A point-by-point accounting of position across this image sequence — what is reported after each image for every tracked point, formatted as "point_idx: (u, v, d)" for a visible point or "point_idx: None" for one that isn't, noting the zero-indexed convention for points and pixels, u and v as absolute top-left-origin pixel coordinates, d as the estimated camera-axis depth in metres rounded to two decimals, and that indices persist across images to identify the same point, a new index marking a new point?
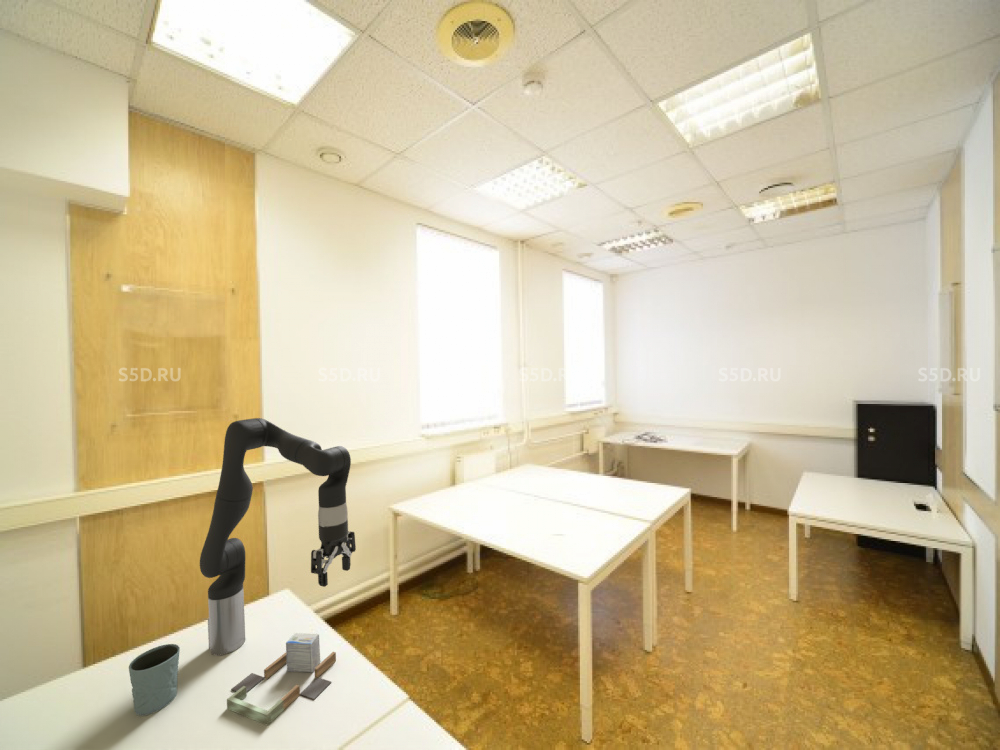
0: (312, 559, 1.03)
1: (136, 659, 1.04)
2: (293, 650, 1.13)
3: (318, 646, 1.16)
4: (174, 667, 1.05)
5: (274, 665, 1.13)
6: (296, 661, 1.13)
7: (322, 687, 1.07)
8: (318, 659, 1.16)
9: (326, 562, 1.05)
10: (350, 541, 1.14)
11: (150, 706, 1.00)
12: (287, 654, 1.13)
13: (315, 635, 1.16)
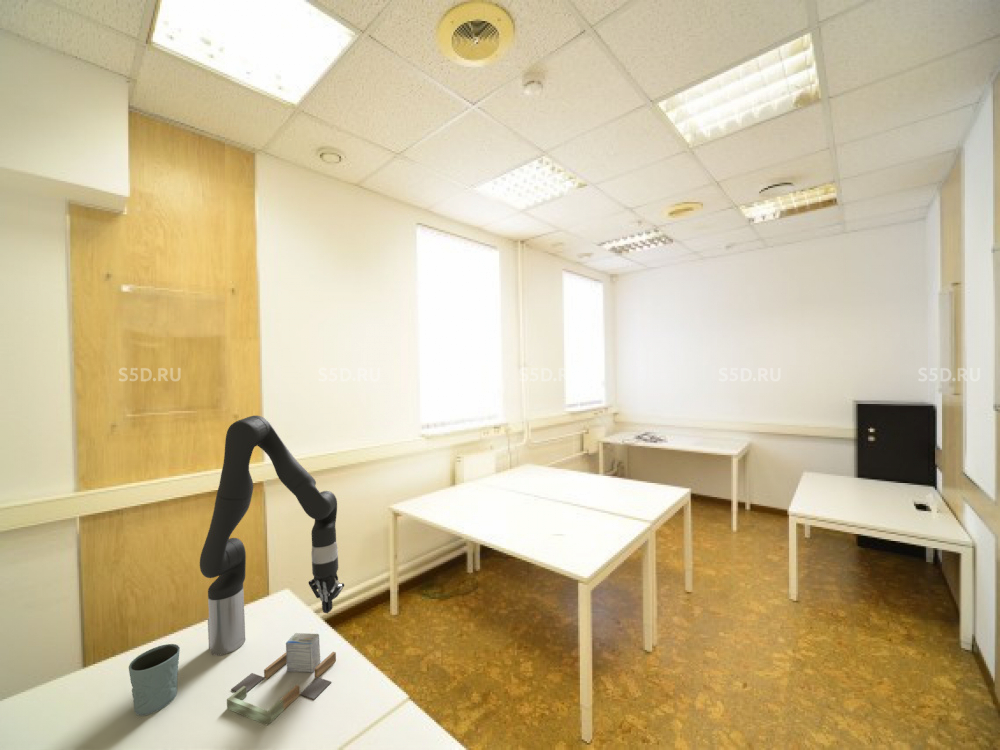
0: (337, 593, 1.21)
1: (136, 659, 1.04)
2: (293, 650, 1.13)
3: (318, 646, 1.16)
4: (174, 667, 1.05)
5: (274, 665, 1.13)
6: (296, 661, 1.13)
7: (322, 687, 1.07)
8: (318, 659, 1.16)
9: (333, 590, 1.24)
10: None
11: (150, 706, 1.00)
12: (287, 654, 1.13)
13: (315, 635, 1.16)
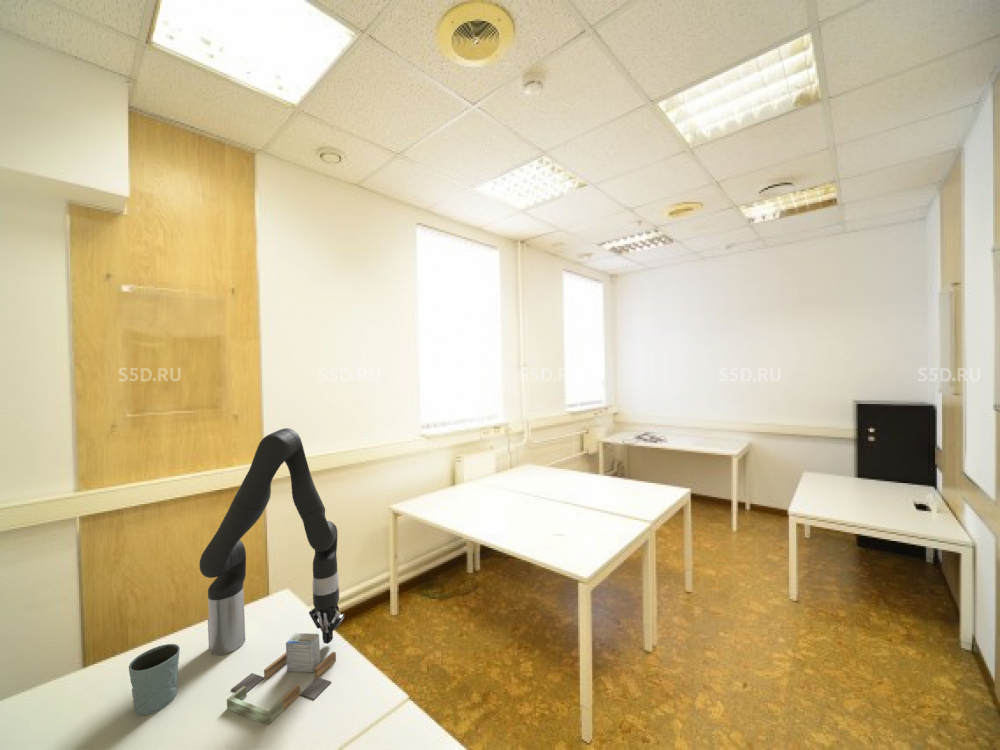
0: (337, 624, 1.21)
1: (136, 659, 1.04)
2: (293, 650, 1.13)
3: (318, 646, 1.16)
4: (174, 667, 1.05)
5: (274, 665, 1.13)
6: (296, 661, 1.13)
7: (322, 687, 1.07)
8: (318, 659, 1.16)
9: (333, 621, 1.24)
10: None
11: (150, 706, 1.00)
12: (287, 654, 1.13)
13: (315, 635, 1.16)
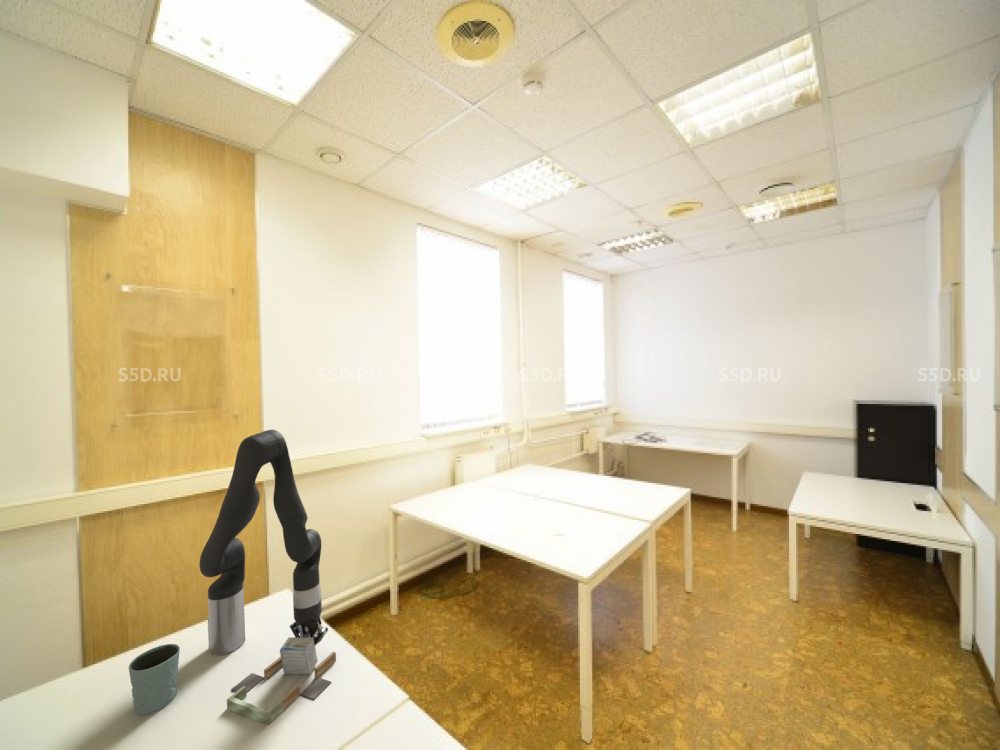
0: (320, 638, 1.15)
1: (136, 659, 1.04)
2: (288, 656, 1.11)
3: (314, 649, 1.14)
4: (174, 667, 1.05)
5: (274, 665, 1.13)
6: (292, 666, 1.11)
7: (322, 687, 1.07)
8: (315, 660, 1.15)
9: (316, 634, 1.17)
10: None
11: (150, 706, 1.00)
12: (282, 660, 1.11)
13: (309, 639, 1.13)
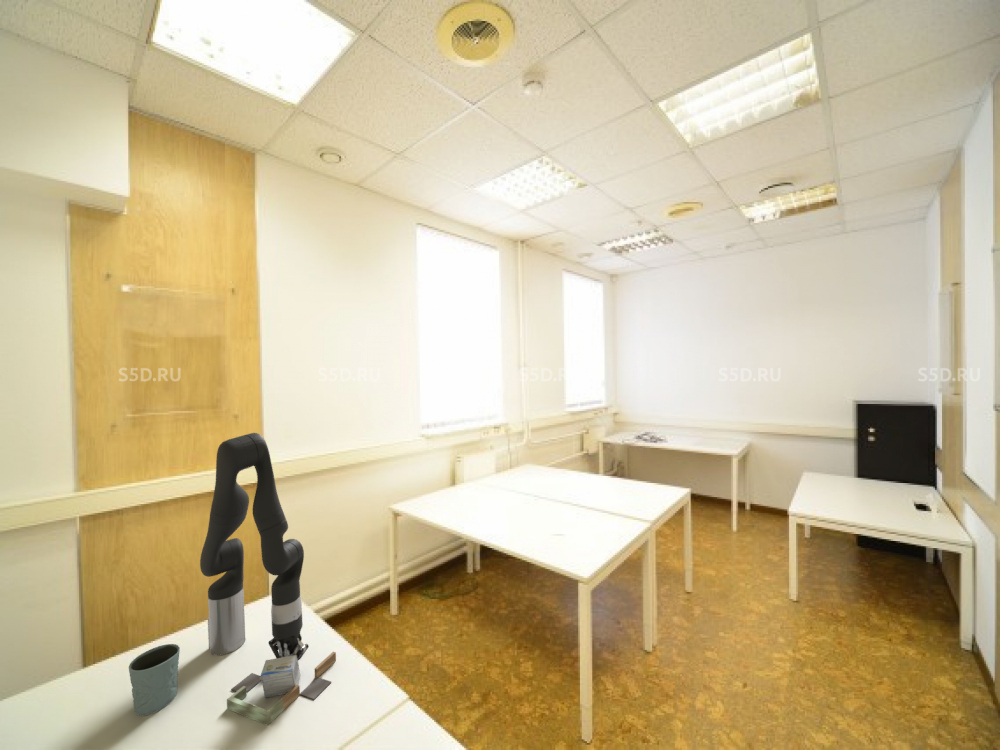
0: (300, 655, 1.08)
1: (136, 659, 1.04)
2: (271, 679, 1.02)
3: (297, 665, 1.07)
4: (174, 667, 1.05)
5: None
6: (275, 688, 1.04)
7: (322, 687, 1.07)
8: (299, 675, 1.08)
9: (296, 651, 1.11)
10: None
11: (150, 706, 1.00)
12: (263, 685, 1.02)
13: (293, 657, 1.06)
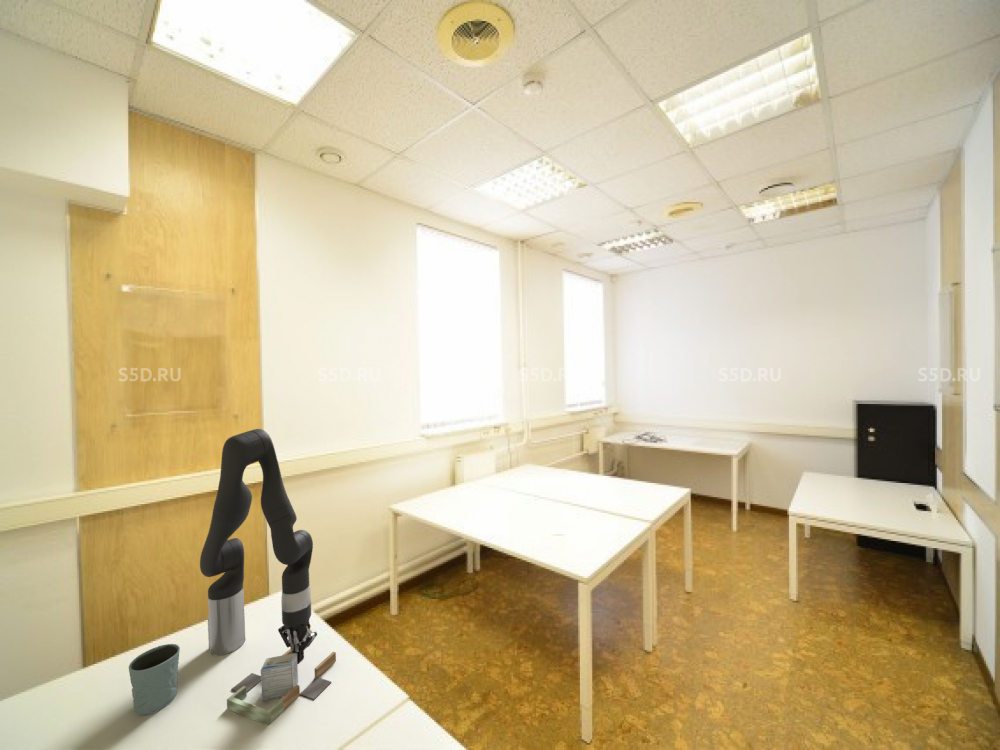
0: (308, 643, 1.11)
1: (136, 659, 1.04)
2: (271, 675, 1.04)
3: (297, 666, 1.08)
4: (174, 667, 1.05)
5: None
6: (273, 687, 1.04)
7: (322, 687, 1.07)
8: (297, 680, 1.08)
9: (304, 639, 1.14)
10: None
11: (150, 706, 1.00)
12: (262, 682, 1.03)
13: (293, 655, 1.08)
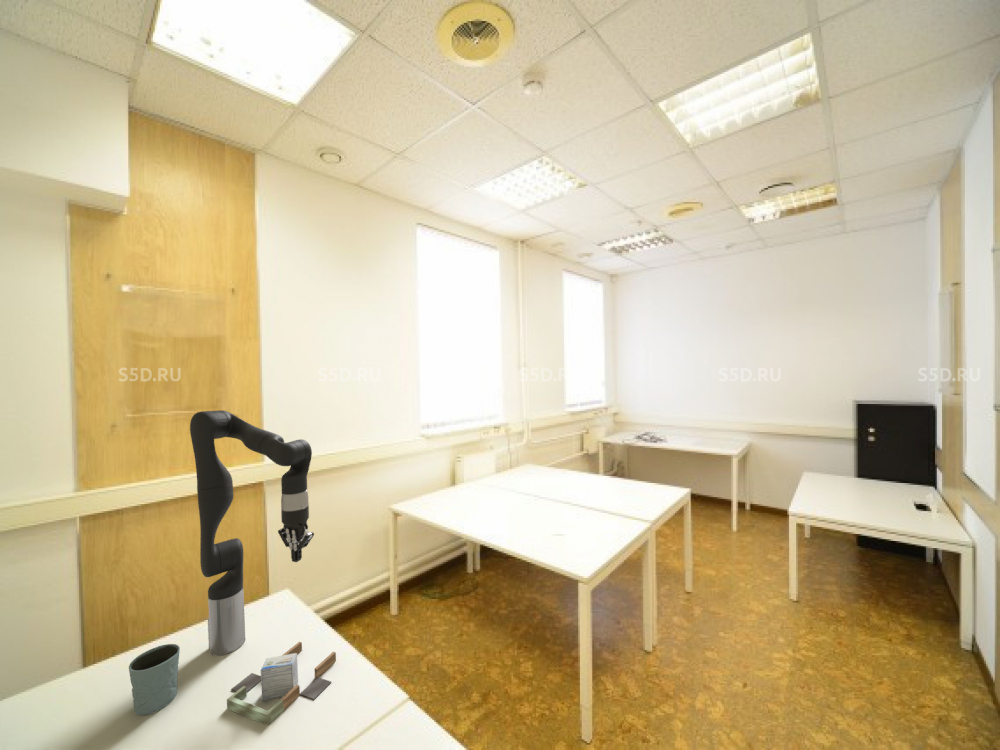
0: (306, 541, 1.19)
1: (136, 659, 1.04)
2: (271, 675, 1.04)
3: (297, 666, 1.08)
4: (174, 667, 1.05)
5: None
6: (273, 687, 1.04)
7: (322, 687, 1.07)
8: (297, 680, 1.08)
9: (302, 540, 1.22)
10: None
11: (150, 706, 1.00)
12: (262, 682, 1.03)
13: (293, 655, 1.08)
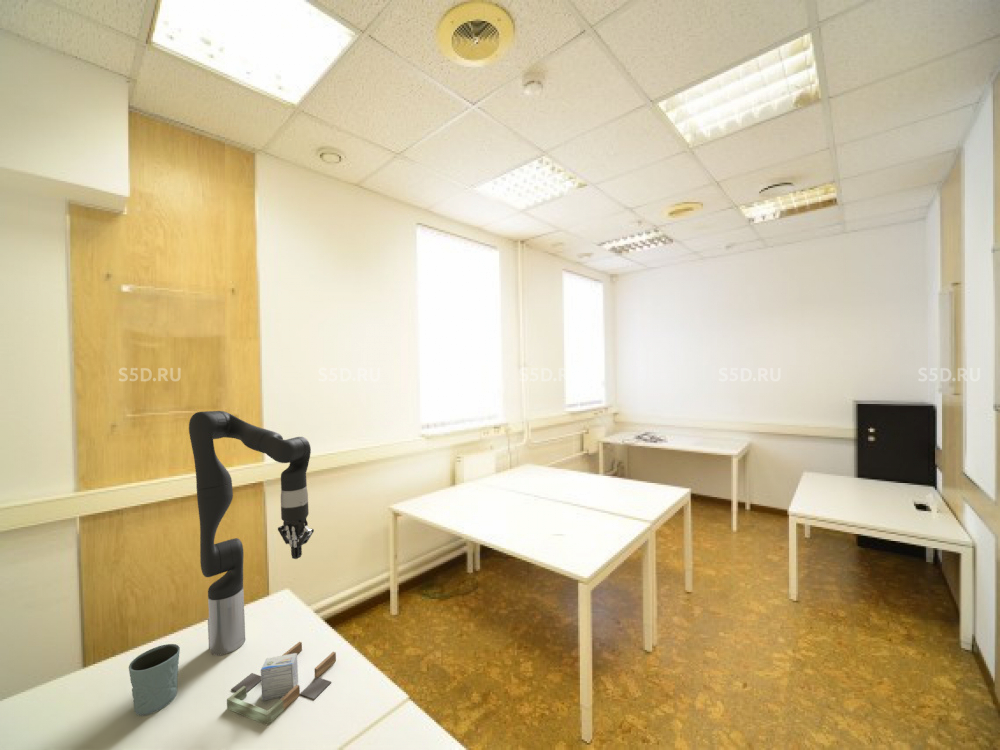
0: (306, 537, 1.19)
1: (136, 659, 1.04)
2: (271, 675, 1.04)
3: (297, 666, 1.08)
4: (174, 667, 1.05)
5: None
6: (273, 687, 1.04)
7: (322, 687, 1.07)
8: (297, 680, 1.08)
9: None
10: None
11: (150, 706, 1.00)
12: (262, 682, 1.03)
13: (293, 655, 1.08)
